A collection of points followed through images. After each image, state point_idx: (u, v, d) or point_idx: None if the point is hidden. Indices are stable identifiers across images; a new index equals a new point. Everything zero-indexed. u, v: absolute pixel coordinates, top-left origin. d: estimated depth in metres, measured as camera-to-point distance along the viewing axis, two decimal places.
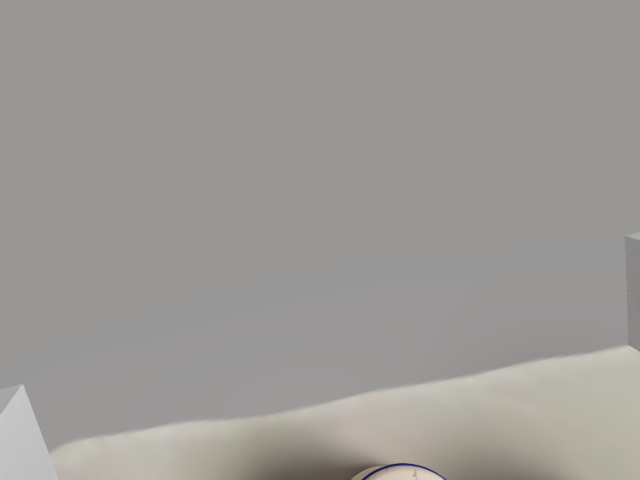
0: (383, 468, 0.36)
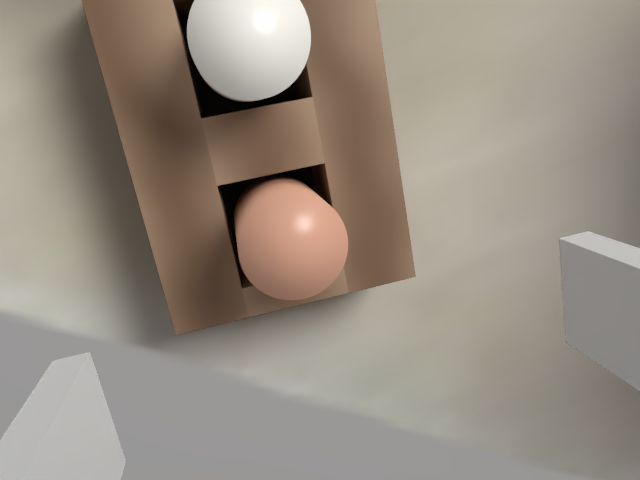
0: None
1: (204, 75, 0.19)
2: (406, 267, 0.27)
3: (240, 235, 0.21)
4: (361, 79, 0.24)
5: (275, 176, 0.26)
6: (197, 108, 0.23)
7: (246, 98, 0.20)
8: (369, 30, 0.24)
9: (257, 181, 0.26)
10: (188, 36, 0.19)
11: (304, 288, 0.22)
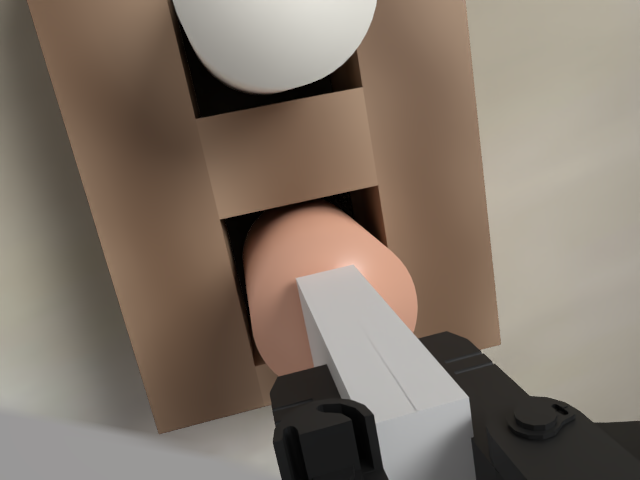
0: None
1: (198, 45, 0.11)
2: (488, 331, 0.19)
3: (255, 299, 0.14)
4: (435, 61, 0.16)
5: None
6: (190, 103, 0.15)
7: (269, 85, 0.12)
8: None
9: None
10: None
11: None
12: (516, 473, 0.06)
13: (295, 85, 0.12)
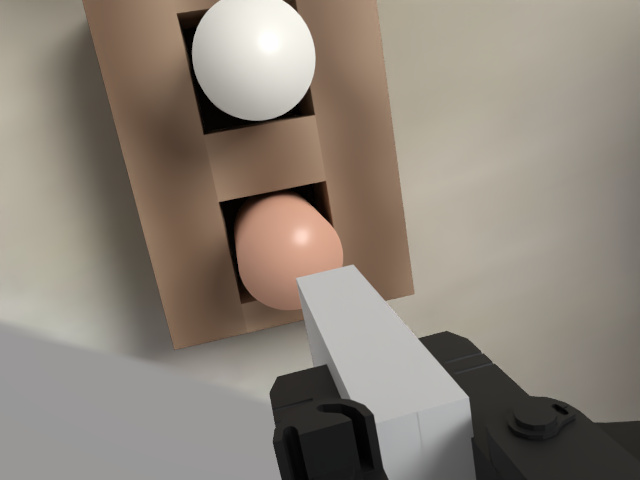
0: None
1: (208, 95, 0.19)
2: (405, 284, 0.27)
3: (240, 248, 0.22)
4: (364, 98, 0.24)
5: None
6: (200, 125, 0.23)
7: (250, 119, 0.20)
8: (372, 50, 0.24)
9: (257, 194, 0.27)
10: (193, 57, 0.19)
11: None
12: (516, 473, 0.06)
13: (265, 119, 0.20)
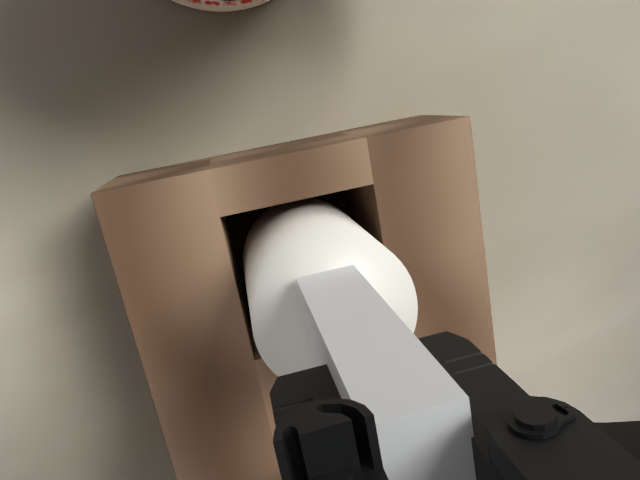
0: None
1: (273, 370, 0.14)
2: None
3: None
4: (458, 300, 0.19)
5: None
6: (250, 349, 0.18)
7: None
8: (470, 241, 0.18)
9: None
10: (253, 325, 0.14)
11: None
12: (516, 473, 0.06)
13: None
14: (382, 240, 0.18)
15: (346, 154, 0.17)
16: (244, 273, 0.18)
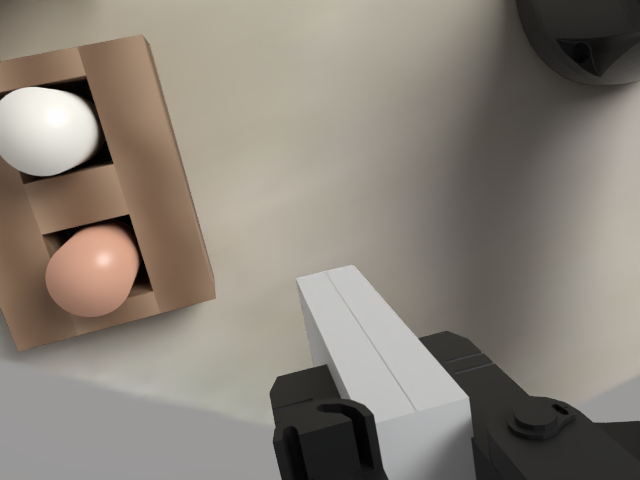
0: None
1: (7, 160, 0.27)
2: (207, 291, 0.34)
3: (46, 271, 0.29)
4: (153, 149, 0.31)
5: None
6: (19, 176, 0.30)
7: (40, 175, 0.28)
8: (155, 112, 0.31)
9: (86, 224, 0.34)
10: None
11: (100, 308, 0.30)
12: (516, 473, 0.06)
13: (52, 174, 0.28)
14: (97, 110, 0.30)
15: (66, 56, 0.29)
16: None
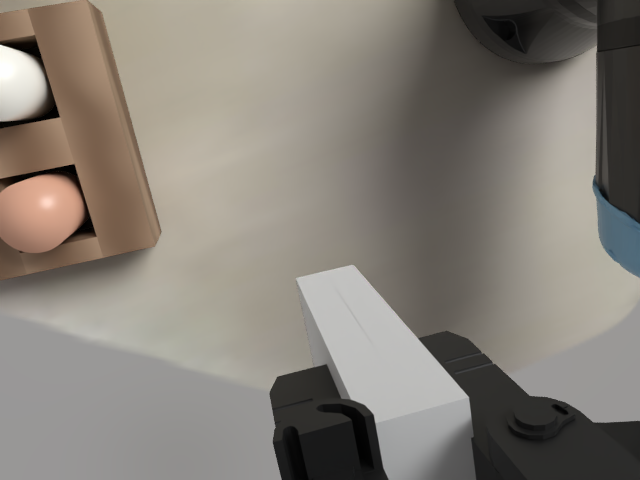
0: None
1: None
2: (146, 239, 0.37)
3: None
4: (96, 105, 0.34)
5: (51, 171, 0.37)
6: None
7: None
8: (98, 71, 0.34)
9: None
10: None
11: (42, 245, 0.33)
12: (516, 473, 0.06)
13: None
14: (45, 67, 0.33)
15: (17, 17, 0.32)
16: None
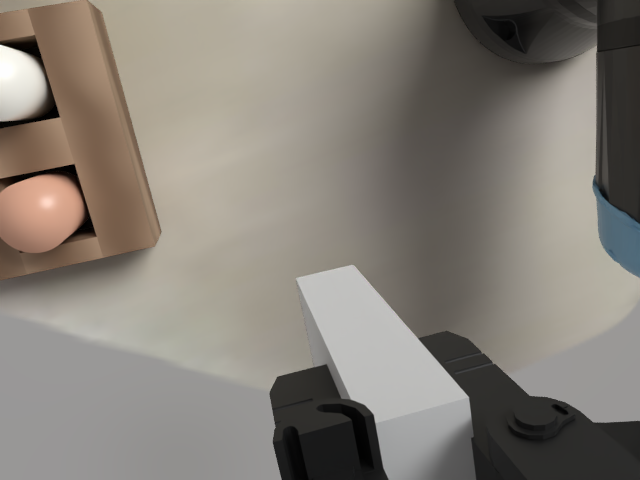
0: None
1: None
2: (146, 239, 0.37)
3: None
4: (96, 105, 0.34)
5: (51, 171, 0.37)
6: None
7: None
8: (98, 71, 0.34)
9: None
10: None
11: (42, 245, 0.33)
12: (516, 473, 0.06)
13: None
14: (45, 67, 0.33)
15: (17, 17, 0.32)
16: None
